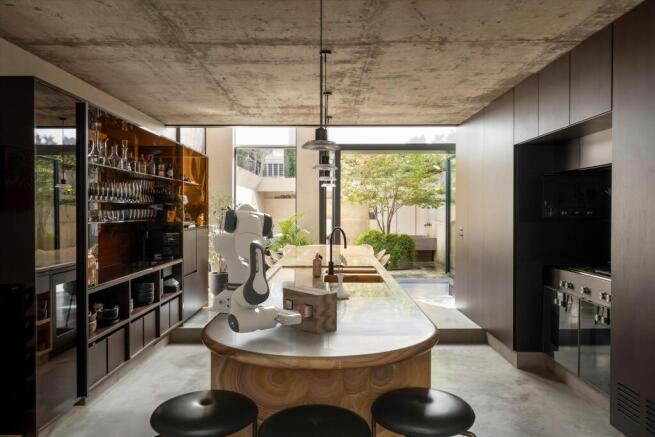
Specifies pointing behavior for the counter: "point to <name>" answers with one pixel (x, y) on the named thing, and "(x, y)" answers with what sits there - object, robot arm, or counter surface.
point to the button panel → (314, 308)
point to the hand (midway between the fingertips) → (296, 312)
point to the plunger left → (289, 304)
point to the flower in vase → (340, 290)
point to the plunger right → (305, 310)
